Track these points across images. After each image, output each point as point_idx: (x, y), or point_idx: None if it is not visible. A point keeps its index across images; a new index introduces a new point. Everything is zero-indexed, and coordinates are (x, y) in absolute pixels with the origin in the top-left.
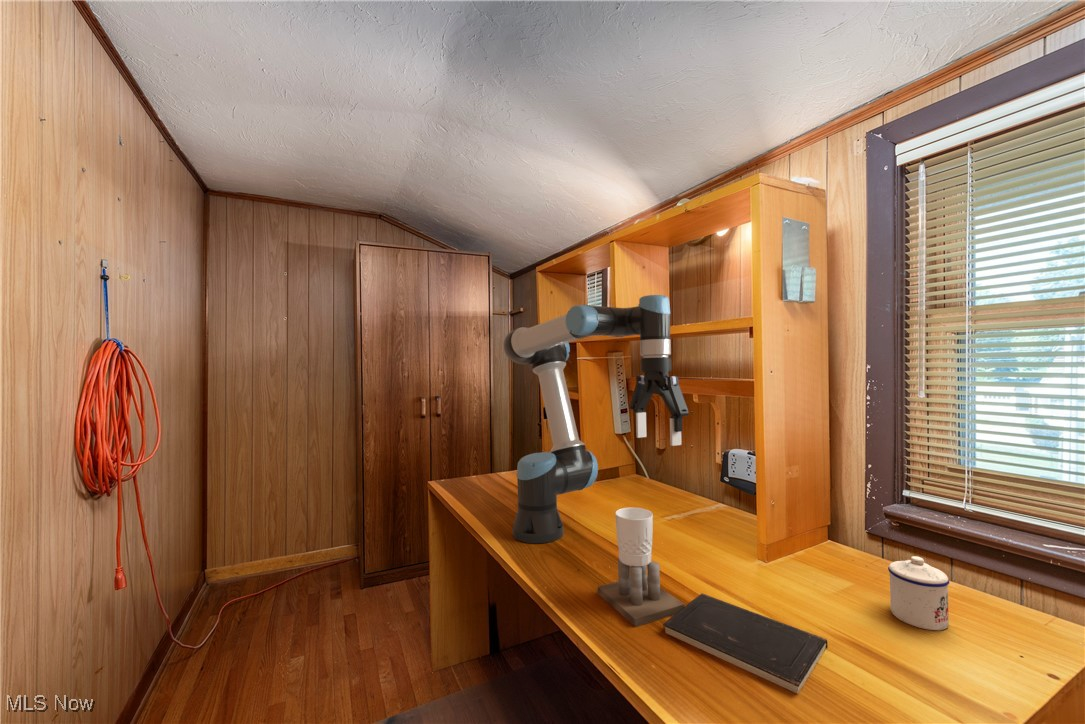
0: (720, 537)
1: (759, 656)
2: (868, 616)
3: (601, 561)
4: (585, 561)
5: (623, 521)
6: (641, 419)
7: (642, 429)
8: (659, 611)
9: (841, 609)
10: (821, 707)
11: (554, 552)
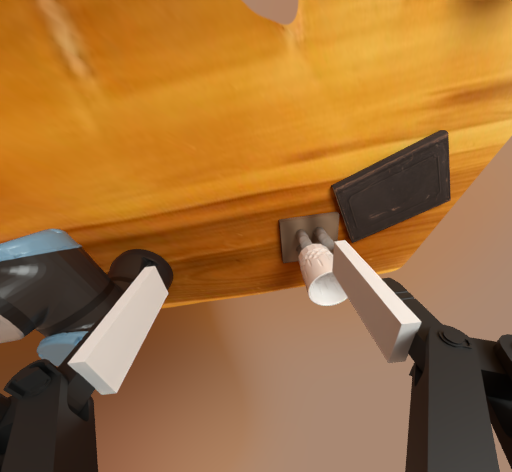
0: (188, 24)
1: (419, 203)
2: (454, 18)
3: (227, 237)
4: (223, 250)
5: (336, 300)
6: (125, 342)
7: (149, 300)
8: (337, 236)
9: (426, 40)
10: (457, 192)
11: (196, 268)
